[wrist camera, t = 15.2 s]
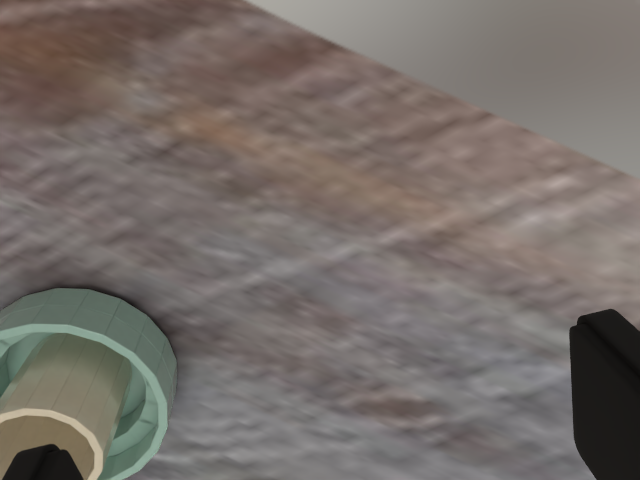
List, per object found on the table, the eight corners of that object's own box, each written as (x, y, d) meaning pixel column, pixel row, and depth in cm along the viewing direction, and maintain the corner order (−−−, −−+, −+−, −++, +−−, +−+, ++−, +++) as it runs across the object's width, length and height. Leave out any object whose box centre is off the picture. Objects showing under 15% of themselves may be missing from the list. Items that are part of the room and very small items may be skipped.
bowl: (-53, 310, 37) (-97, 354, 32) (140, 263, 37) (123, 301, 32) (33, 455, 42) (4, 511, 38) (201, 414, 42) (194, 465, 38)
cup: (10, 343, 38) (-51, 426, 30) (111, 318, 38) (74, 396, 30) (53, 421, 41) (6, 514, 33) (146, 398, 41) (120, 487, 33)
